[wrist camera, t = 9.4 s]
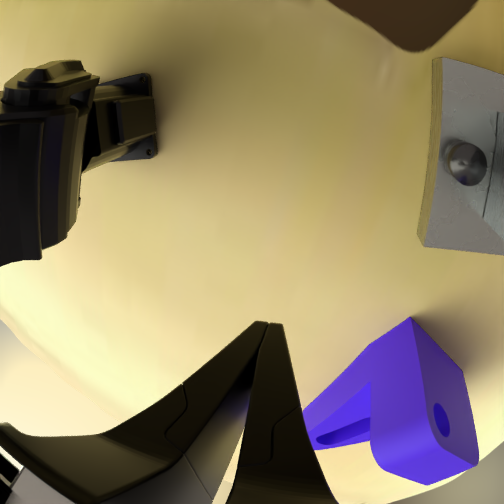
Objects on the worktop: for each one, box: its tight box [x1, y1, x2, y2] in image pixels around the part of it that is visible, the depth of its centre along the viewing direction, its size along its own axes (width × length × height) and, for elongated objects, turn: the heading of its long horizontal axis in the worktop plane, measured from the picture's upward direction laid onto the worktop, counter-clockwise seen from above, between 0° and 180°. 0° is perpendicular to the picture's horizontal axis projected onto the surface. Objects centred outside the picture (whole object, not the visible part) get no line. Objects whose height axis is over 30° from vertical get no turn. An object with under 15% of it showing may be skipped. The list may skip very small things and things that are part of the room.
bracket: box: [303, 317, 479, 485], centre depth 23 cm, size 18×11×12 cm, turn 143°
